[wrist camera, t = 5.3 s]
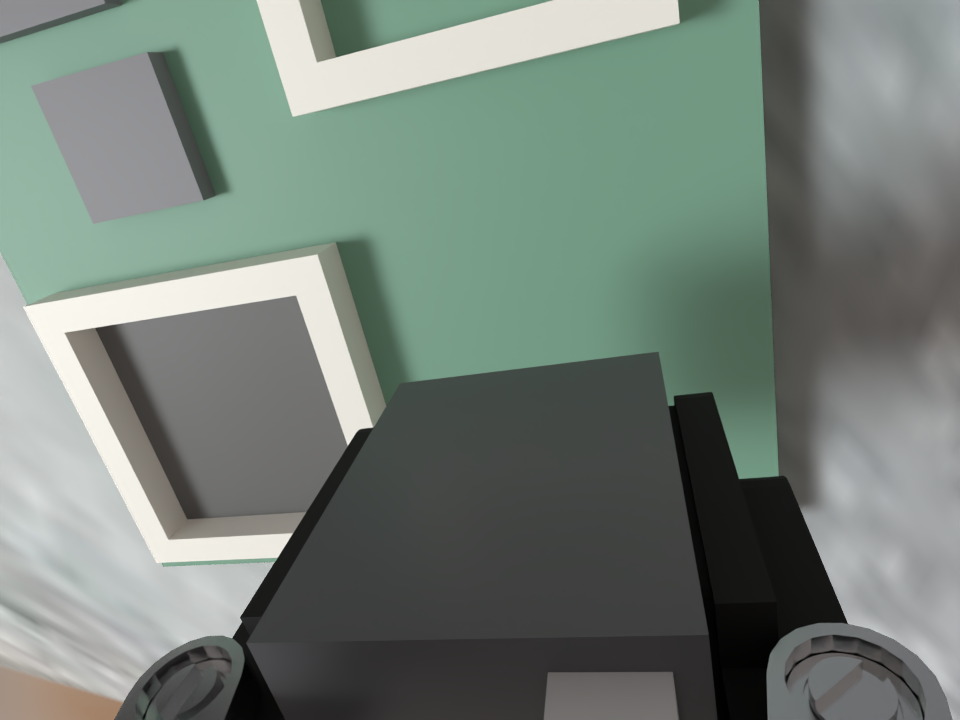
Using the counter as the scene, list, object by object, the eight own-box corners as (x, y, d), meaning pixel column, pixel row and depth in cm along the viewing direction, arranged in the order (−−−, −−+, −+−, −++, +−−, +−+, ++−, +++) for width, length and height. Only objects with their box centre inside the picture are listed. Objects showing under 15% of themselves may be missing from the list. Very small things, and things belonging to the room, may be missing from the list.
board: (-127, -96, 14) (-244, -120, 12) (724, -452, 10) (751, -578, 8) (185, 540, 21) (142, 589, 19) (770, 510, 17) (791, 570, 15)
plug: (399, 383, 10) (210, 703, 5) (658, 351, 9) (722, 706, 4) (457, 573, 12) (354, 954, 7) (683, 563, 11) (750, 1000, 6)
